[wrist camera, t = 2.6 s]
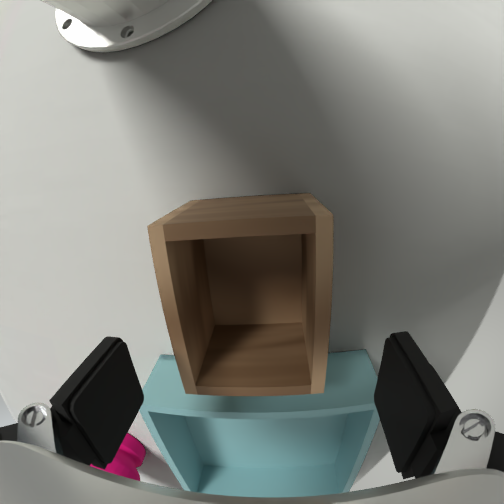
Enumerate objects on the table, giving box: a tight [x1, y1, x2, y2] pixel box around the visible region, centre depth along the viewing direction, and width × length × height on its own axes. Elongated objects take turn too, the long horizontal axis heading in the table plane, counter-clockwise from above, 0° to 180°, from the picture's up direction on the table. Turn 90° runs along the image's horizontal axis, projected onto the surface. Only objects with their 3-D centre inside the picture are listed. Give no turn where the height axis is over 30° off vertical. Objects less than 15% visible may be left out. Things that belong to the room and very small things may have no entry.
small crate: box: [147, 193, 333, 396], centre depth 14 cm, size 8×6×6 cm
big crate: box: [139, 349, 380, 497], centre depth 18 cm, size 15×14×5 cm
